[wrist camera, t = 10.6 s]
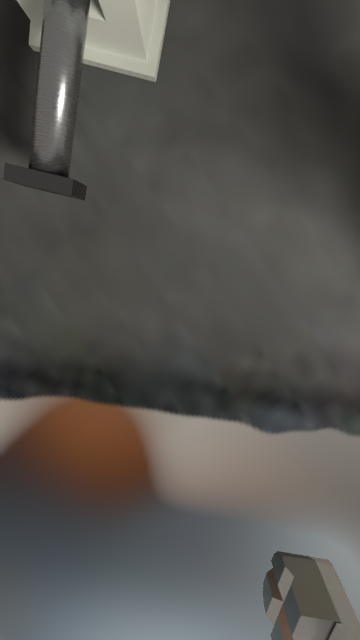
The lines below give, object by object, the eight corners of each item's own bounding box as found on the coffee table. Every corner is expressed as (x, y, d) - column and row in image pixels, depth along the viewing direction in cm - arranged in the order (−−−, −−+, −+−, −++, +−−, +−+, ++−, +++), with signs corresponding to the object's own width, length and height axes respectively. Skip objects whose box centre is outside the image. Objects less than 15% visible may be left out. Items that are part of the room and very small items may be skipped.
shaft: (51, -89, 23) (28, -146, 20) (121, -68, 23) (111, -121, 20) (25, 186, 28) (3, 179, 24) (84, 200, 28) (71, 195, 25)
